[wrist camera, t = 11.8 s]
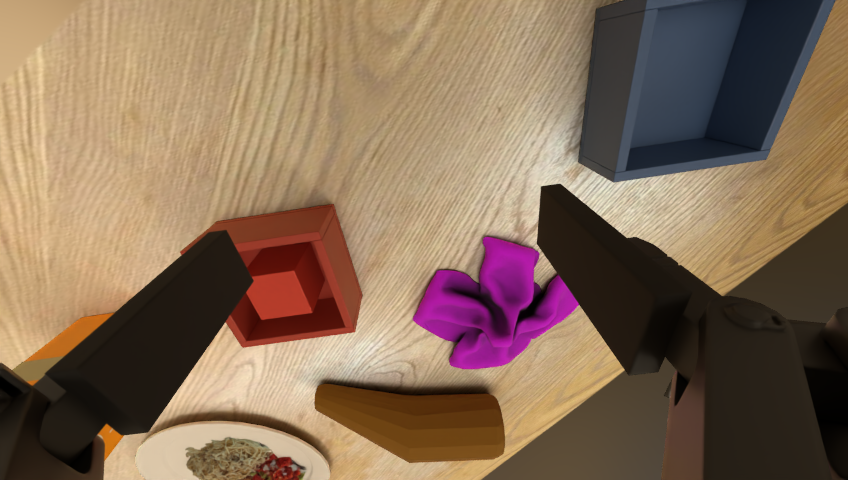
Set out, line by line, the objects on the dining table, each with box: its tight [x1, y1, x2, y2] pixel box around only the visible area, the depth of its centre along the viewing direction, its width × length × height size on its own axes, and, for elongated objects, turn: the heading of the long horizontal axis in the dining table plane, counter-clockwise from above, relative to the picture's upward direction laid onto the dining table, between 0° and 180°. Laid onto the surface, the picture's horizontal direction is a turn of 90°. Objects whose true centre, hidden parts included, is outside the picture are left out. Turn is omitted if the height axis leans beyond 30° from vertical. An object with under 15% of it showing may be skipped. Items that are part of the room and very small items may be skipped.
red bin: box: [180, 204, 362, 347], centre depth 30 cm, size 12×12×6 cm
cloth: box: [413, 237, 579, 369], centre depth 34 cm, size 22×19×6 cm
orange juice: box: [12, 313, 124, 461], centre depth 28 cm, size 8×9×20 cm
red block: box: [246, 242, 325, 320], centre depth 29 cm, size 5×5×5 cm
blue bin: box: [578, 0, 835, 182], centre depth 23 cm, size 12×12×6 cm
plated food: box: [135, 421, 331, 480], centre depth 50 cm, size 30×30×3 cm
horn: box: [315, 384, 505, 463], centre depth 42 cm, size 8×10×25 cm
